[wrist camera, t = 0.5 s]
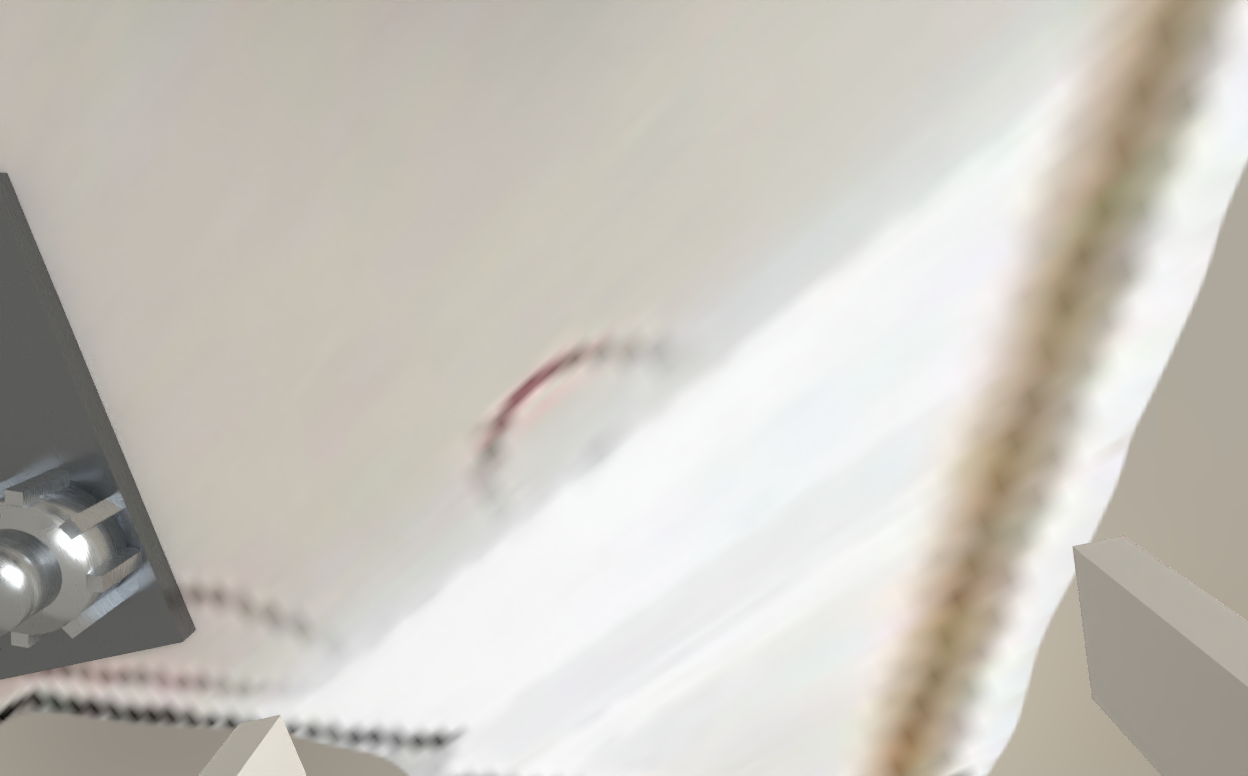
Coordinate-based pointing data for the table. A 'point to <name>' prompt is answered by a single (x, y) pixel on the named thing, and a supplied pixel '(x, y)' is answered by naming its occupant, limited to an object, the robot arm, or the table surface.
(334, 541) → the table surface
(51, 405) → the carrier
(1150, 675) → the robot arm
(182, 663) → the table surface
